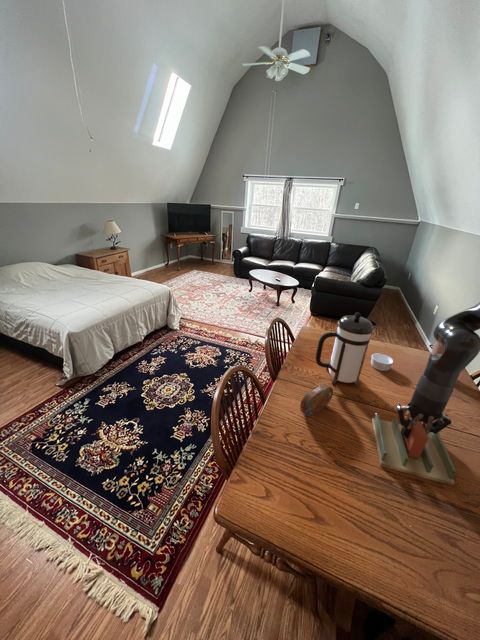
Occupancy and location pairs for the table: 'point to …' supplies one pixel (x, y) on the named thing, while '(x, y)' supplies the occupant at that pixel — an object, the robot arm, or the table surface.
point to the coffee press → (347, 348)
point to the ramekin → (381, 362)
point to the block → (415, 440)
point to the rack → (395, 457)
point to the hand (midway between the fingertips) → (412, 437)
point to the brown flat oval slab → (316, 399)
